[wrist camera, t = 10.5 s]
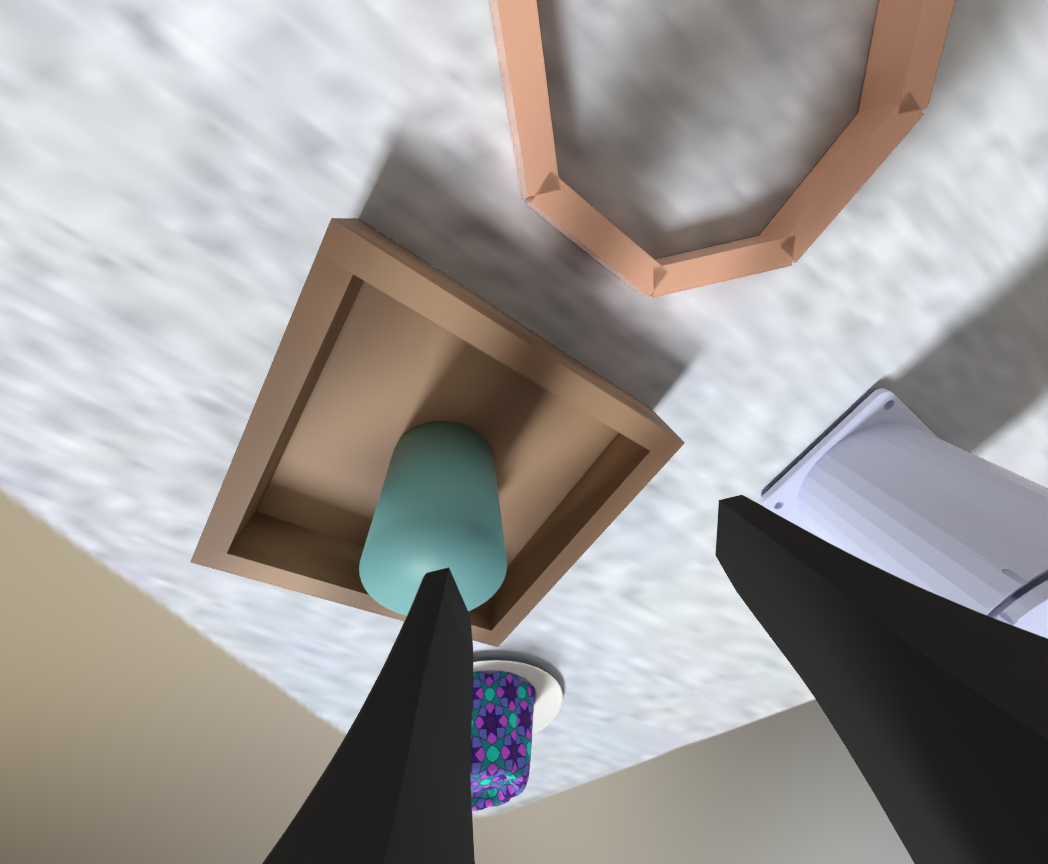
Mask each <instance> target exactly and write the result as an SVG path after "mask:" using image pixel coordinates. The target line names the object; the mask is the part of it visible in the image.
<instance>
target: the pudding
mask: <svg viewBox="0 0 1048 864" xmlns="http://www.w3.org/2000/svg"><path fill="white" fill-rule="evenodd" d="M486 670H495V671H500V672H496V673H493V674H490V675H488V674H486V673H483V672H476V671H486ZM501 671H505V672H501ZM513 673H514V674H513ZM515 674H517V675H519V676H521V677H524V678H525V679H527V680H528V681H529V682H531V684H532V685H533V686H534V687H533V686H532V685H531V684H530V683H526V682H519V679H518V676H517V675H515ZM534 688H535V690H536V696H537V698H536V702H535V705H534V698H535V690H534ZM562 702H563V693H562V690H561V686H560V685H559V683H558V682H557V681H556V679H555V678H553V677H552V676H551V675H550V674H549V673H547V672H545V671H543V670H542V669H540V668H538V667H535V666H532V665H528V664H525V663H520V662H514V661H502V660H490V661H477V662H473V699H472V731H471V803H472V810H473V811H476V810H482V809H485V808H487V807H489V806H499V805H502V804H505V803H506V802H508V801H509V800H510V799H511V798H512V797H515V796H517V795H519V794H520V793H522V792H523V790H524V789H525V787H526V784H527V781H528V777H529V769H530V758H531V743H532V736H533V735H535V734H536V733H538V732H539V731H541V730H542V729H543V728H545V727H546V726H547V725H548V724H549V723H550V722H551V721H552V720H553V719H554V718H555V717H556V715H557V714H558V712H559V710H560V708H561V705H562Z"/></svg>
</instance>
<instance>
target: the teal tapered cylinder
mask: <svg viewBox="0 0 1048 864" xmlns="http://www.w3.org/2000/svg"><path fill="white" fill-rule="evenodd" d="M448 567H449V568H450V571H451V573H452V575H453V578H454V580H455V582H456V584H457V587H458V589H459V591H460V594H461V596H462V598H463V601H464V603H465V605H466V607H467V610H468V611H470V610H472V609H474V608H476V607H478V606H480V605H481V604H483V603H484V602H486V601H487V600H488V599H490V598H491V597H492V596H493V595H494V594H495V593H496V592H497V590H498V589H499V588H500V586H501V584H502V583H503V581H504V578H505V575H506V571H507V557H506V549H505V541H504V533H503V526H502V518H501V510H500V502H499V495H498V487H497V479H496V471H495V463H494V457H493V453H492V450H491V448H490V446H489V444H488V443H487V441H486V440H485V439H484V438H483V437H482V436H481V435H480V434H479V433H478V432H477V431H475V430H474V429H472V428H470V427H468V426H466V425H464V424H461V423H457V422H452V421H433V422H427V423H424V424H421V425H419V426H416V427H414V428H413V429H411V430H409V431H408V432H407V433H406V434H404V435H403V436H402V438H401V439H400V440H399V441H398V443H397V444H396V446H395V448H394V451H393V454H392V457H391V460H390V464H389V467H388V470H387V474H386V477H385V480H384V484H383V487H382V490H381V493H380V497H379V500H378V503H377V507H376V510H375V513H374V517H373V520H372V523H371V526H370V530H369V533H368V536H367V540H366V543H365V546H364V550H363V553H362V556H361V560H360V565H359V573H360V578H361V582H362V584H363V586H364V588H365V590H366V591H367V592H368V594H369V595H370V596H371V597H372V598H373V599H374V600H375V601H376V602H378V603H379V604H380V605H382V606H384V607H385V608H387V609H389V610H391V611H393V612H396V613H399V614H402V615H406V616H407V615H408V612H409V610H410V608H411V605H412V603H413V601H414V598H415V596H416V593H417V591H418V589H419V586H420V584H421V581H422V579H423V577H424V575H425V574H426V573H428V572H432V571H436V570H440V569H444V568H448Z"/></svg>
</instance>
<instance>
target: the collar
mask: <svg viewBox="0 0 1048 864" xmlns="http://www.w3.org/2000/svg"><path fill="white" fill-rule="evenodd" d="M954 3H955V0H879V5H878V10H877V15H876V21H875V26H874V31H873V37H872V42H871V47H870V53H869V58H868V63H867V69H866V74H865V79H864V85H863V90H862V95H861V101H860V106H859V111H858V114H857V115H856V116H855V118H854V119H853V120H852V121H851V122H850V124H849V125H848V126H847V127H846V129H845V130H844V131H843V132H842V134H841V135H840V136H839V137H838V139H837V140H836V141H835V142H834V143H833V145H832V146H831V147H830V148H829V150H828V151H827V152H826V153H825V155H824V156H823V157H822V158H821V160H820V161H819V162H818V163H817V164H816V166H815V167H814V168H813V169H812V171H811V172H810V173H809V174H808V176H807V177H806V178H805V179H804V181H803V182H802V183H801V184H800V185H799V187H798V188H797V189H796V190H795V192H794V193H793V194H792V195H791V197H790V198H789V199H788V200H787V202H786V203H785V204H784V205H783V206H782V208H781V209H780V210H779V211H778V213H777V214H776V215H775V216H774V218H773V219H772V220H771V221H770V223H769V224H768V225H767V226H766V227H765V229H764V230H763V231H762V232H761V234H760V235H759V236H756V237H751V238H747V239H742V240H738V241H734V242H729V243H725V244H721V245H716V246H712V247H708V248H703V249H699V250H694V251H690V252H686V253H681V254H677V255H673V256H668V257H664V258H660V259H655V260H654V259H653V258H652V257H651V256H650V255H648V254H647V253H646V252H645V251H644V250H643V249H641V248H640V247H639V246H638V245H637V244H636V243H634V242H633V241H632V240H631V239H630V238H628V237H627V236H626V235H625V234H624V233H623V232H621V231H620V230H619V229H618V228H617V227H616V226H614V225H613V224H612V223H611V222H610V221H609V220H607V219H606V218H605V217H604V216H603V215H602V214H600V213H599V212H598V211H597V210H596V209H595V208H593V207H592V206H591V205H590V204H589V203H588V202H586V201H585V200H584V199H583V198H582V197H581V196H579V195H578V194H577V193H576V192H575V191H574V190H572V189H571V188H570V187H569V186H568V185H567V184H565V183H564V182H563V181H562V180H561V179H560V178H559V177H558V169H557V161H556V153H555V145H554V137H553V129H552V121H551V113H550V105H549V97H548V89H547V81H546V73H545V65H544V57H543V49H542V41H541V33H540V25H539V17H538V9H537V1H536V0H489V4H490V10H491V16H492V22H493V28H494V34H495V40H496V46H497V52H498V57H499V63H500V69H501V75H502V81H503V87H504V93H505V99H506V105H507V111H508V117H509V123H510V129H511V135H512V141H513V147H514V153H515V159H516V165H517V171H518V177H519V183H520V189H521V194H522V199H525V198H528V200H527V201H526V203H525V204H526V205H527V206H528V207H530V208H531V209H532V210H533V211H535V212H536V213H537V214H538V215H540V216H541V217H542V218H543V219H545V220H546V221H547V222H549V223H550V224H551V225H552V226H554V227H555V228H556V229H557V230H559V231H560V232H561V233H562V234H564V235H565V236H566V237H567V238H569V239H570V240H571V241H572V242H574V243H575V244H576V245H578V246H579V247H580V248H581V249H583V250H584V251H585V252H586V253H588V254H589V255H590V256H591V257H593V258H594V259H595V260H596V261H598V262H599V263H600V264H601V265H603V266H604V267H605V268H607V269H608V270H609V271H610V272H612V273H613V274H614V275H615V276H617V277H618V278H619V279H620V280H622V281H623V282H624V283H625V284H627V285H628V286H629V287H630V288H632V289H633V290H635V291H637V292H640V293H642V294H645V295H647V296H651V297H658V296H662V295H666V294H671V293H675V292H679V291H683V290H688V289H692V288H696V287H701V286H705V285H709V284H714V283H718V282H722V281H727V280H731V279H735V278H740V277H744V276H748V275H753V274H757V273H761V272H766V271H770V270H774V269H779V268H783V267H787V266H791V265H792V262H795V263H796V262H797V261H798V260H799V258H800V257H801V256H802V255H803V254H804V253H805V252H806V250H807V249H808V248H809V247H810V246H811V245H812V243H813V242H814V241H815V240H816V239H817V238H818V236H819V235H820V234H821V233H822V232H823V231H824V230H825V228H826V227H827V226H828V225H829V224H830V223H831V221H832V220H833V219H834V218H835V217H836V216H837V215H838V213H839V212H840V211H841V210H842V209H843V208H844V206H845V205H846V204H847V203H848V202H849V201H850V199H851V198H852V197H853V196H854V195H855V194H856V193H857V191H858V190H859V189H860V188H861V187H862V186H863V184H864V183H865V182H866V181H867V180H868V179H869V178H870V176H871V175H872V174H873V173H874V172H875V171H876V169H877V168H878V167H879V166H880V165H881V164H882V162H883V161H884V160H885V159H886V158H887V157H888V156H889V154H890V153H891V152H892V151H893V150H894V149H895V147H896V146H897V145H898V144H899V143H900V142H901V141H902V139H903V138H904V137H905V136H906V135H907V134H908V132H909V131H910V130H911V129H912V128H913V127H914V125H915V124H916V123H917V122H918V121H919V120H920V119H921V117H922V116H923V115H924V113H923V112H922V110H921V109H924V108H928V104H929V100H930V97H931V93H932V89H933V85H934V81H935V77H936V73H937V69H938V65H939V61H940V58H941V54H942V50H943V46H944V42H945V38H946V34H947V30H948V26H949V22H950V18H951V15H952V11H953V7H954Z"/></svg>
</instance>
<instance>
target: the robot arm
mask: <svg viewBox="0 0 1048 864" xmlns="http://www.w3.org/2000/svg"><path fill="white" fill-rule="evenodd" d="M761 503H762V505H764V506H765V507H766V508H765V507H763V506H761V505H760V504H758V503H756V502H754V501H752V500H751V499H749V498H747V497H745V496H743V495H739V496H735V497H731V498H727V499H723V500H719V509H718V525H717V541H716V557H717V559H718V560H719V562H720V564H721V566H722V567H723V569H724V571H725V573H726V574H727V576H728V578H729V579H730V581H731V583H732V584H733V586H734V588H735V589H736V591H737V593H738V594H739V595H740V597H741V598H742V599H743V601H744V602H745V604H746V605H747V606H748V608H749V609H750V610H751V612H752V613H753V614H754V616H755V617H756V618H757V620H758V621H759V622H760V624H761V625H762V626H763V628H764V629H765V630H766V632H767V633H768V634H769V636H770V637H771V638H772V640H773V641H774V642H775V644H776V645H777V646H778V648H779V649H780V650H781V652H782V653H783V654H784V656H785V657H786V658H787V660H788V661H789V662H790V664H791V665H792V666H793V668H794V669H795V670H796V672H797V673H798V674H799V676H800V677H801V678H802V680H803V681H804V683H805V684H806V685H807V687H808V688H809V690H810V691H811V693H812V694H813V695H814V697H815V698H816V700H817V702H818V703H819V705H820V706H821V708H822V709H823V711H824V713H825V714H826V716H827V717H828V719H829V720H830V722H831V724H832V725H833V727H834V728H835V730H836V731H837V733H838V735H839V736H840V738H841V740H842V741H843V743H844V744H845V746H846V748H847V749H848V751H849V752H850V754H851V756H852V758H853V759H854V761H855V762H856V764H857V765H858V767H859V769H860V771H861V772H862V774H863V776H864V777H865V779H866V781H867V782H868V784H869V786H870V787H871V789H872V791H873V792H874V794H875V796H876V797H877V799H878V801H879V802H880V804H881V806H882V808H883V809H884V811H885V813H886V815H887V816H888V818H889V820H890V822H891V823H892V825H893V827H894V829H895V830H896V832H897V834H898V835H899V837H900V839H901V840H902V842H903V844H904V846H905V847H906V849H907V851H908V853H909V854H910V856H911V858H912V860H913V861H914V863H915V864H1048V488H1046V487H1043V486H1041V485H1039V484H1037V483H1035V482H1033V481H1030V480H1028V479H1026V478H1024V477H1022V476H1020V475H1017V474H1015V473H1013V472H1011V471H1009V470H1007V469H1004V468H1002V467H1000V466H998V465H996V464H994V463H991V462H989V461H987V460H985V459H983V458H981V457H978V456H976V455H974V454H972V453H970V452H968V451H965V450H963V449H961V448H959V447H957V446H954V445H952V444H950V443H948V442H946V441H944V440H941V439H939V438H938V437H937V436H936V435H935V434H934V433H933V432H932V431H931V430H930V429H929V428H928V427H927V426H926V425H925V424H924V423H923V422H922V421H921V420H920V419H919V418H918V417H917V416H916V415H915V414H914V413H913V412H912V411H911V410H910V409H909V408H908V407H907V406H906V405H905V404H904V403H903V402H902V401H901V400H900V399H899V398H898V397H897V396H896V395H895V394H894V393H893V392H891V391H889V390H887V389H884V388H880V389H878V390H875V391H874V392H873V393H871V394H870V395H869V396H868V397H867V398H866V399H865V400H864V401H863V402H862V403H861V404H860V405H859V406H858V407H857V408H855V409H854V410H853V411H852V412H851V413H850V414H849V415H848V416H847V417H846V418H845V419H844V420H843V421H842V422H840V423H839V424H838V425H837V426H836V427H835V428H834V429H833V430H832V431H831V432H830V433H829V434H828V435H827V436H826V437H824V438H823V439H822V440H821V441H820V442H819V443H818V444H817V445H816V446H815V447H814V448H813V449H812V450H811V451H810V452H808V453H807V454H806V455H805V456H804V457H803V458H802V459H801V460H800V461H799V462H798V463H797V464H796V465H795V466H794V467H792V468H791V469H790V470H789V471H788V472H787V473H786V474H785V475H784V476H783V477H782V478H781V479H780V480H779V481H778V482H776V483H775V484H774V485H773V486H772V487H771V488H770V489H769V490H768V491H767V492H766V493H765V494H764V495H763V496H762V498H761ZM473 660H474V657H473V642H472V629H471V617H470V614H469V612H468V610H467V607H466V605H465V603H464V601H463V598H462V596H461V594H460V591H459V589H458V587H457V584H456V582H455V580H454V578H453V575H452V573H451V571H450V568H449V567H448V568H444V569H440V570H436V571H432V572H428V573H426V574H425V575H424V577H423V579H422V581H421V584H420V586H419V589H418V591H417V593H416V596H415V598H414V601H413V603H412V605H411V608H410V610H409V612H408V615H407V617H406V619H405V621H404V624H403V626H402V628H401V630H400V633H399V635H398V637H397V639H396V641H395V643H394V645H393V647H392V650H391V652H390V654H389V656H388V658H387V660H386V662H385V664H384V666H383V668H382V670H381V672H380V674H379V676H378V678H377V680H376V682H375V684H374V686H373V687H372V689H371V691H370V693H369V695H368V697H367V699H366V701H365V703H364V705H363V707H362V708H361V710H360V712H359V714H358V716H357V717H356V719H355V721H354V723H353V724H352V726H351V728H350V730H349V731H348V733H347V735H346V737H345V738H344V740H343V742H342V743H341V745H340V747H339V748H338V750H337V752H336V753H335V755H334V757H333V758H332V760H331V762H330V763H329V765H328V766H327V768H326V770H325V771H324V773H323V774H322V776H321V777H320V779H319V780H318V782H317V784H316V785H315V787H314V788H313V790H312V791H311V793H310V795H309V796H308V798H307V799H306V801H305V802H304V804H303V805H302V807H301V808H300V810H299V811H298V813H297V814H296V816H295V818H294V819H293V820H292V822H291V823H290V825H289V826H288V828H287V829H286V831H285V832H284V834H283V835H282V837H281V838H280V839H279V841H278V842H277V844H276V845H275V847H274V848H273V849H272V851H271V852H270V853H269V855H268V856H267V858H266V859H265V861H264V862H263V863H262V864H475V862H474V846H473V845H474V844H473V825H472V803H471V731H472V699H473Z"/></svg>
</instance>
